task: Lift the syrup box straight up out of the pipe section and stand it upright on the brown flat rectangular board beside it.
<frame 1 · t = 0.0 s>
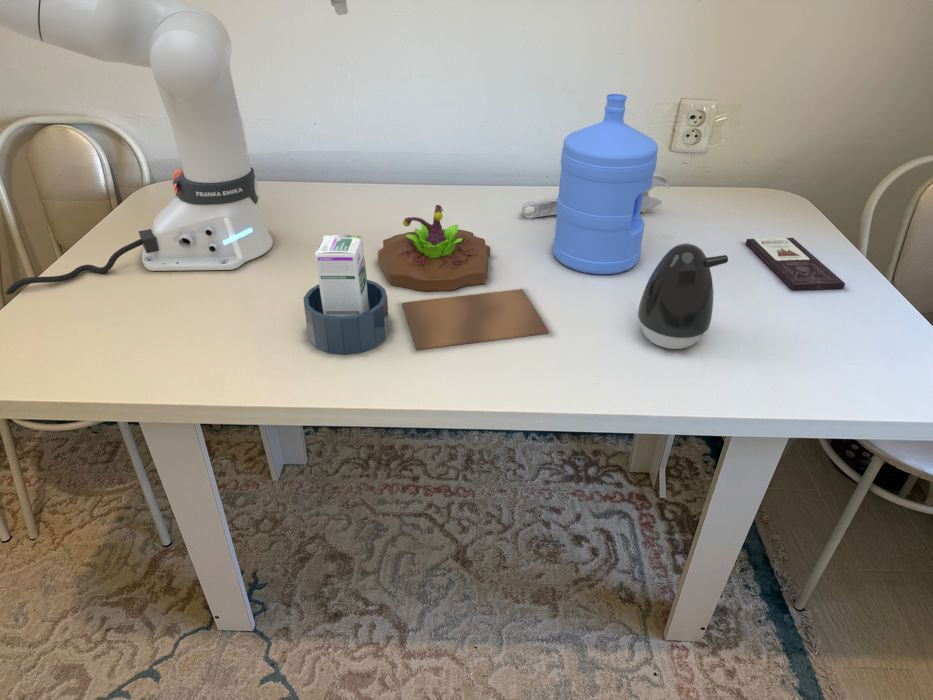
hand: (339, 9, 105), 39 cm above the table, tool pointing down, fingers open, 8 cm apart
syrup box: (349, 333, 99), resting in pipe section
pipe section: (349, 331, 99), on the table
chocolate bar: (791, 265, 118), on the table
pump dispenser: (669, 340, 98), on the table
brown flat rectangular board: (473, 318, 102), on the table
plant: (435, 265, 117), on the table
water jug: (595, 257, 121), on the table
wrench: (592, 216, 136), on the table
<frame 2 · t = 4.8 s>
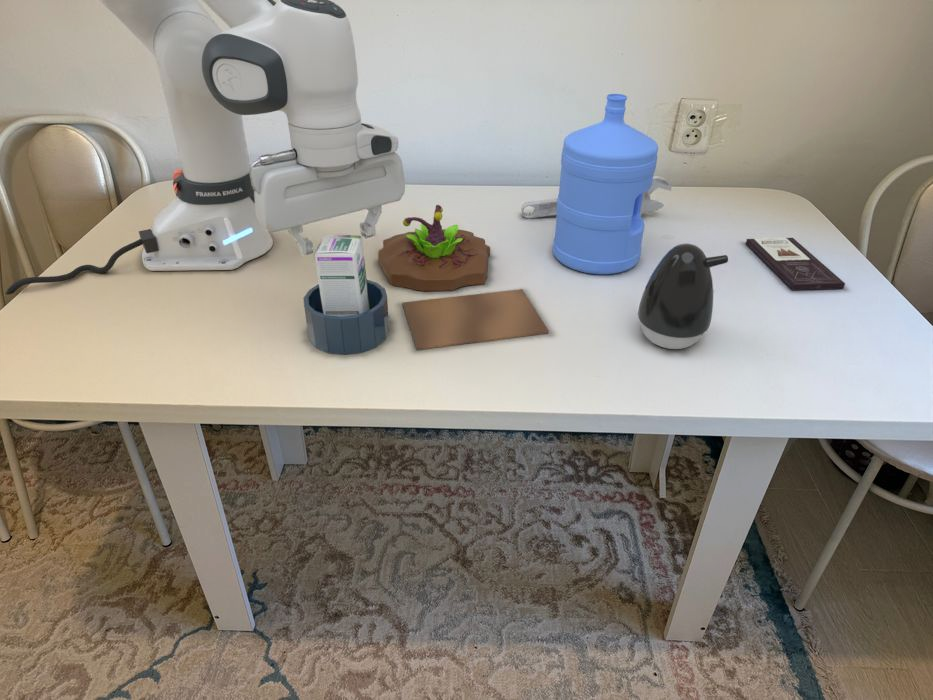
hand: (338, 244, 91), 14 cm above the table, tool pointing down, fingers open, 8 cm apart
syrup box: (349, 333, 99), resting in pipe section, touching gripper
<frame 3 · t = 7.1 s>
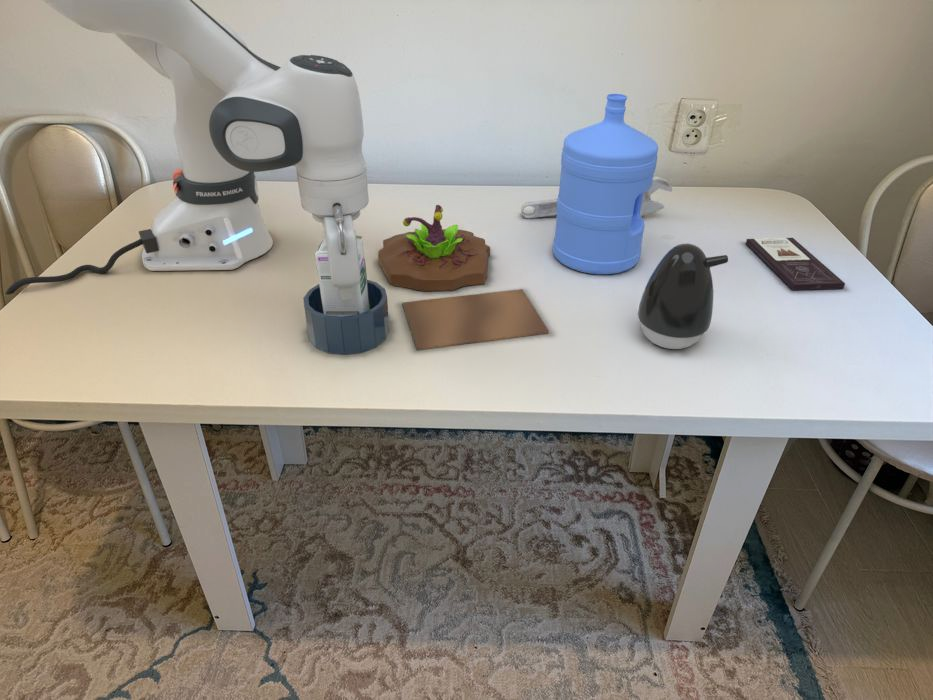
hand: (343, 284, 94), 8 cm above the table, tool pointing down, fingers closed on syrup box, 6 cm apart
syrup box: (349, 332, 99), resting in pipe section, touching gripper
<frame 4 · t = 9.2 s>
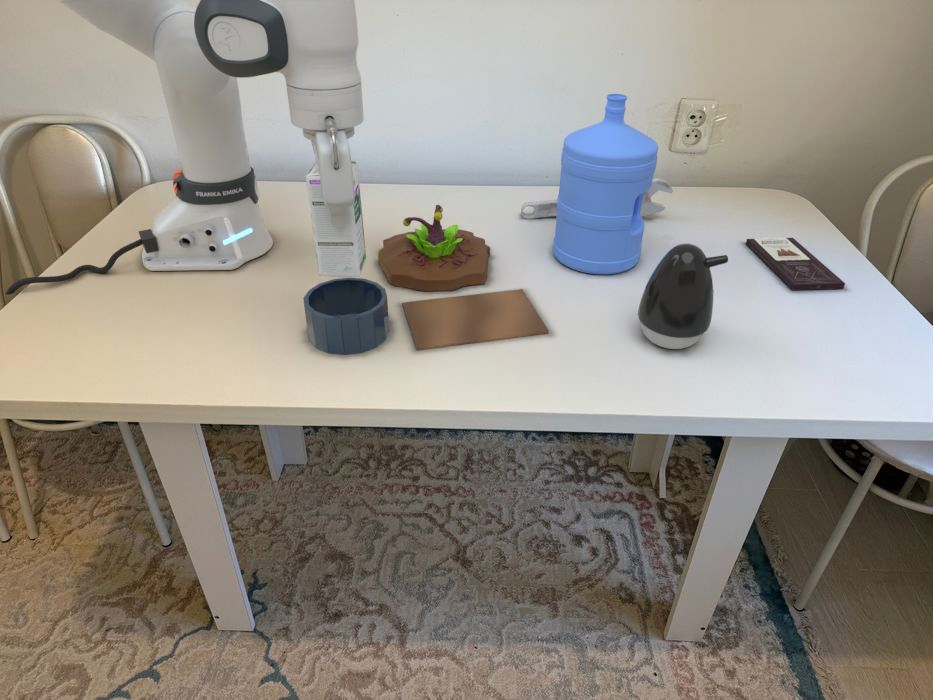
hand: (336, 213, 88), 19 cm above the table, tool pointing down, fingers closed on syrup box, 6 cm apart
syrup box: (342, 269, 93), point 10 cm above the table, touching gripper
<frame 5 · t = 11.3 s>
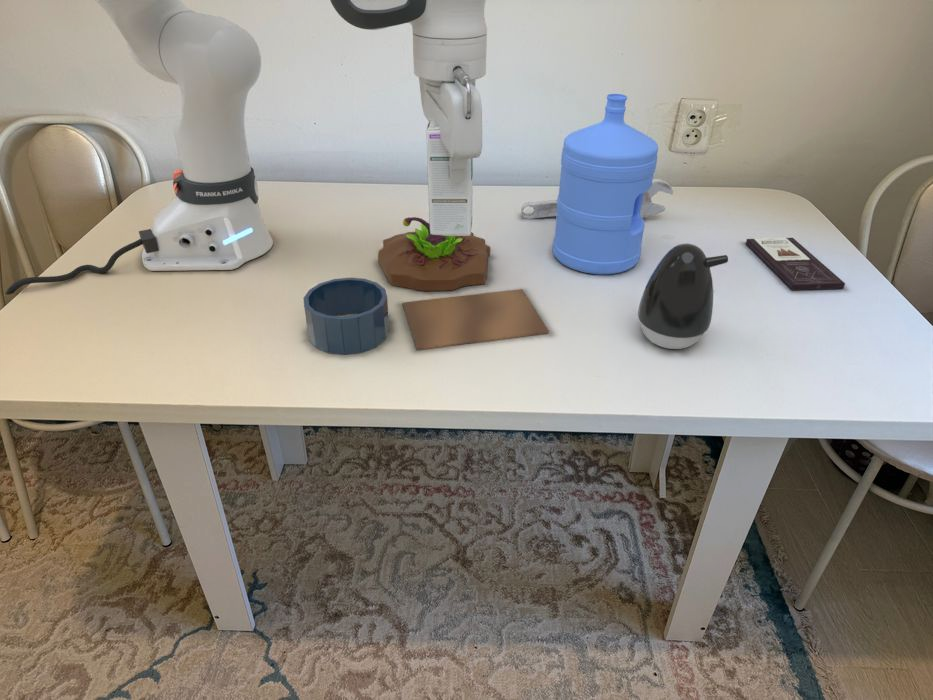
hand: (450, 170, 88), 24 cm above the table, tool pointing down, fingers closed on syrup box, 6 cm apart
syrup box: (450, 228, 93), point 15 cm above the table, touching gripper
when the fingers open (9 cm above the table, at t = 15.5 s): syrup box stays where it is, resting on brown flat rectangular board.
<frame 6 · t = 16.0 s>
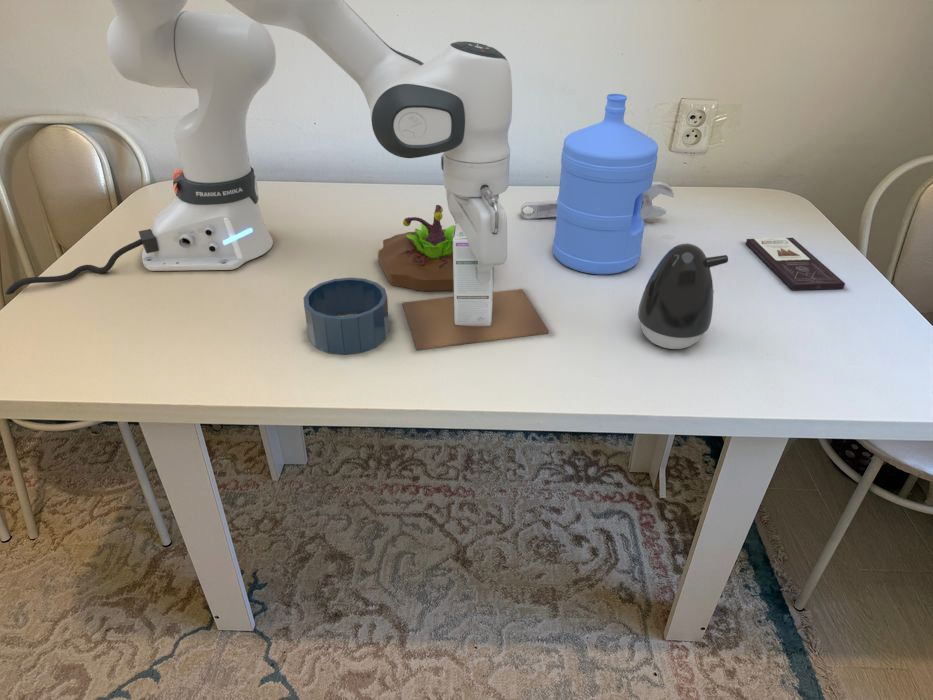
hand: (474, 265, 97), 9 cm above the table, tool pointing down, fingers open, 8 cm apart
syrup box: (472, 317, 102), resting on brown flat rectangular board
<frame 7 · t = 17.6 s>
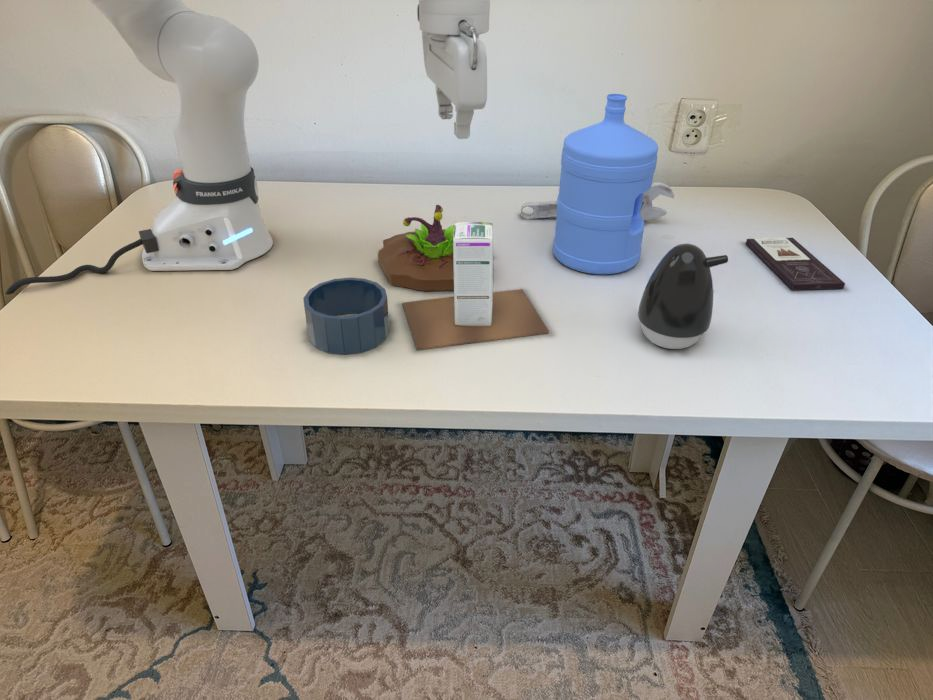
hand: (453, 127, 91), 28 cm above the table, tool pointing down, fingers open, 8 cm apart
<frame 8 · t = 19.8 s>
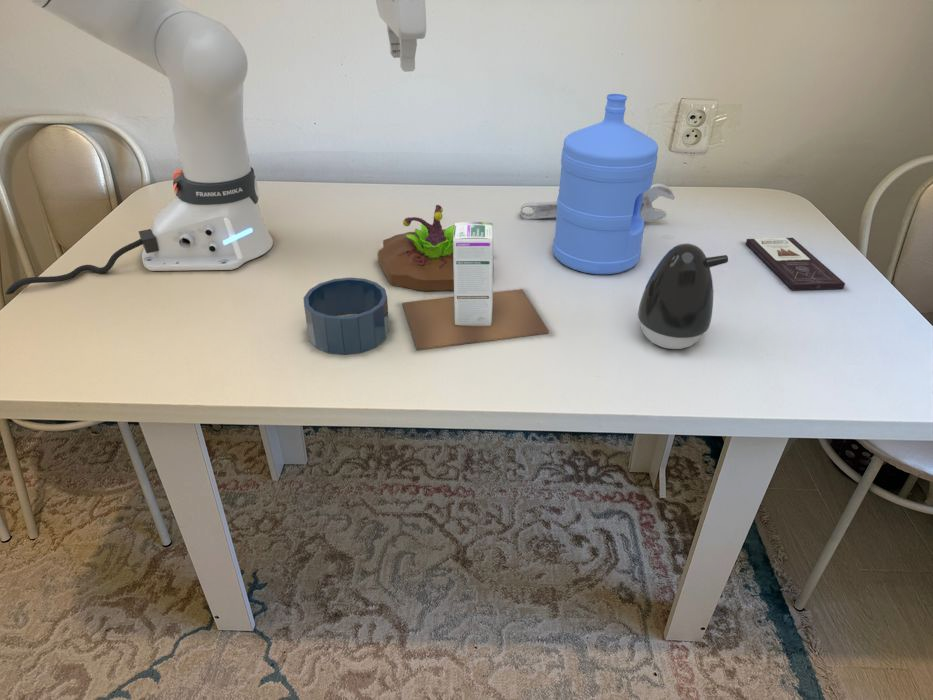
hand: (402, 63, 94), 34 cm above the table, tool pointing down, fingers open, 8 cm apart
at the end: syrup box inside the target area on the brown flat rectangular board (0.2 cm from its centre), point 0.3 cm above the brown flat rectangular board's base; syrup box tilted 0°; the gripper is holding nothing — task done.
